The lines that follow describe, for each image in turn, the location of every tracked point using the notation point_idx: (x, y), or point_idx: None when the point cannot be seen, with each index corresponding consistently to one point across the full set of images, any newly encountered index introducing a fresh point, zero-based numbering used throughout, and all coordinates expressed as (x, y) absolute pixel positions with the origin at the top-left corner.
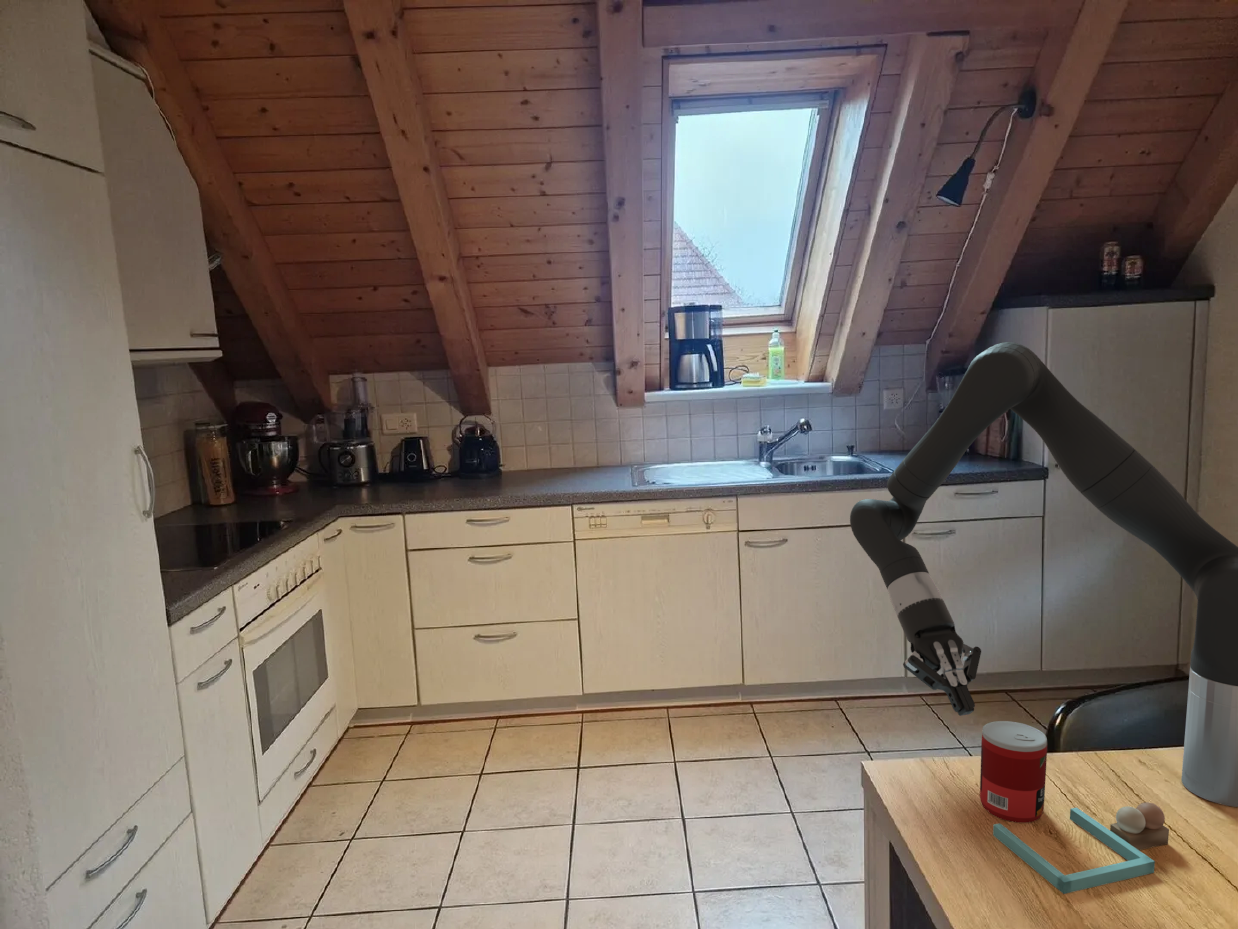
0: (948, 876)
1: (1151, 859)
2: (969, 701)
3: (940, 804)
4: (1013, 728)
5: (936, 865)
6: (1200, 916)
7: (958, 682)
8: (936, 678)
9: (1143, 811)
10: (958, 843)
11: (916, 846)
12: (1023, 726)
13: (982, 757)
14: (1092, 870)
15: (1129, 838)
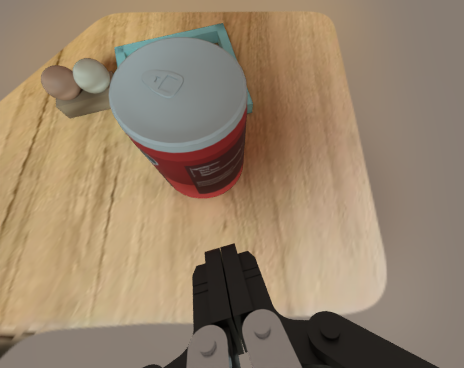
0: (322, 55)
1: (115, 49)
2: (212, 267)
3: (295, 175)
4: (160, 122)
5: (331, 69)
6: (125, 15)
7: (230, 346)
8: (359, 336)
9: (67, 70)
10: (297, 100)
11: (346, 96)
12: (133, 122)
13: (245, 128)
14: (185, 36)
15: (112, 73)
